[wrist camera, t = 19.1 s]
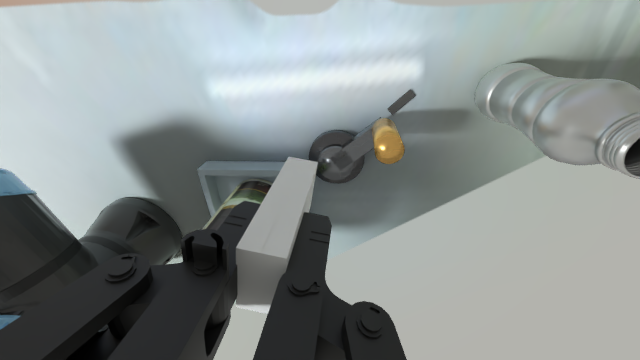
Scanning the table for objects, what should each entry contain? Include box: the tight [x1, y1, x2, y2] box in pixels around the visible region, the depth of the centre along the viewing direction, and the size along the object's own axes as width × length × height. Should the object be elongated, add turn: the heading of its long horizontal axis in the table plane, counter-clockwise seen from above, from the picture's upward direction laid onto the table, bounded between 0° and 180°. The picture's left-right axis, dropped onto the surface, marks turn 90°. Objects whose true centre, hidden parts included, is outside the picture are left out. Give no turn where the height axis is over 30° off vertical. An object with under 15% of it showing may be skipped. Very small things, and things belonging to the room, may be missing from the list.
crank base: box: [309, 130, 364, 183], centre depth 39 cm, size 8×8×1 cm
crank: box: [317, 117, 405, 180], centre depth 33 cm, size 12×5×8 cm, turn 131°
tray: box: [197, 161, 285, 217], centre depth 44 cm, size 16×16×3 cm
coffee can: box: [201, 179, 273, 230], centre depth 38 cm, size 10×10×14 cm
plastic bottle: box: [475, 63, 640, 179], centre depth 24 cm, size 6×7×20 cm
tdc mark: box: [388, 90, 415, 115], centre depth 34 cm, size 4×1×1 cm, turn 135°
